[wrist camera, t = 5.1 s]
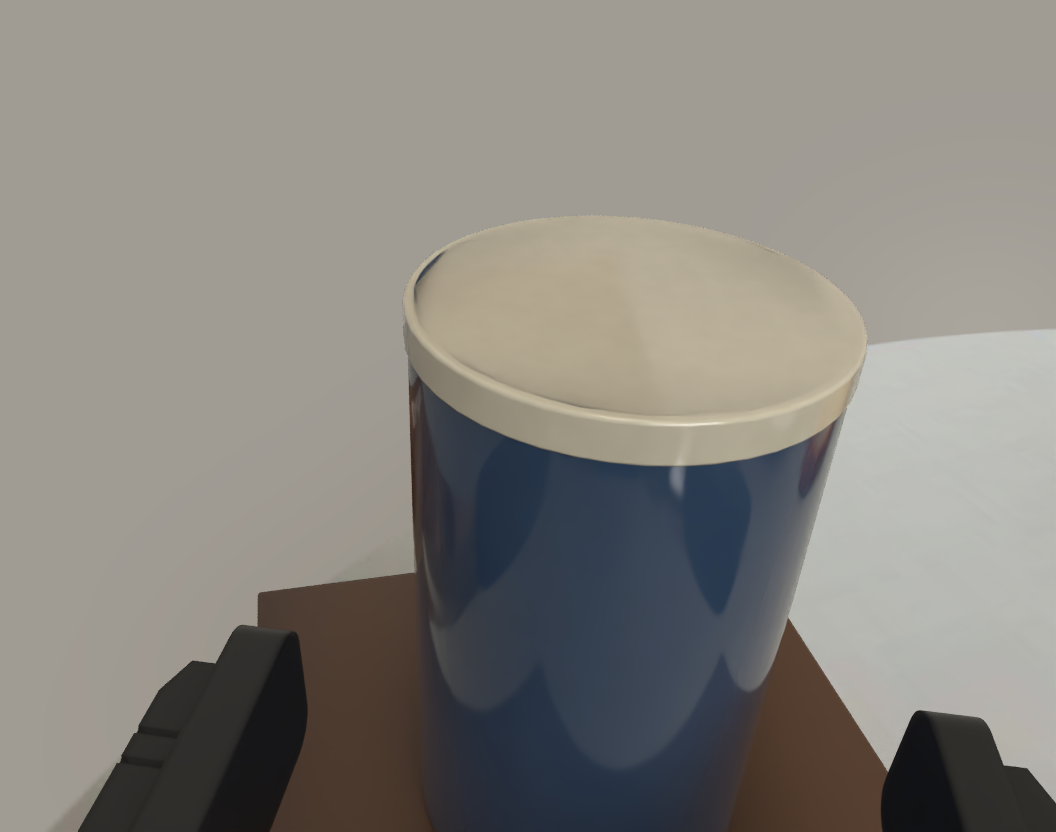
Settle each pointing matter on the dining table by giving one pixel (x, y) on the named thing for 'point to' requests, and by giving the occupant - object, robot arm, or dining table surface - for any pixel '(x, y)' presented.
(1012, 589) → the dining table surface
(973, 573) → the dining table surface
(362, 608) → the shelf
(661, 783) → the cup
